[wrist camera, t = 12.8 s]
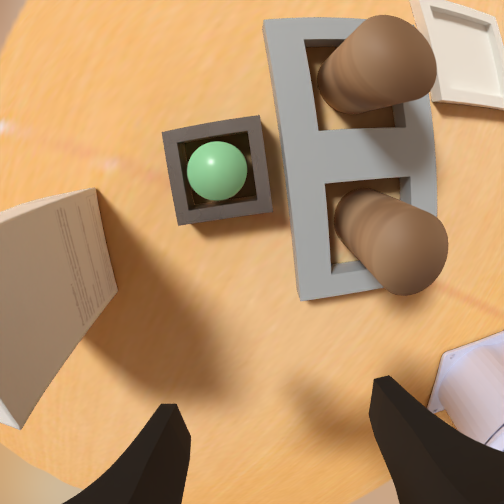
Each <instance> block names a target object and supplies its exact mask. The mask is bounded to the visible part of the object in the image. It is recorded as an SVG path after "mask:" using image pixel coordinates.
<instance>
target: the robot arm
mask: <svg viewBox="0 0 504 504" xmlns="http://www.w3.org/2000/svg"><path fill="white" fill-rule="evenodd" d="M444 409H445V410H446V412H447V413H448V415H449V417H450V418H451V420H452V422H453V423H454V425H455V427H456V428H457V430H456V429H454V428H453V427H451V426H450V425H448V424H447V423H445V422H444V421H443V420H441V419H440V418H438V417H437V416H436V415H434V413H436V412H439V411H442V410H444ZM369 418H370V421H371V425H372V429H373V432H374V436H375V438H376V441H377V443H378V446H379V448H380V451H381V453H382V455H383V458H384V460H385V462H386V465H387V467H388V470H389V472H390V475H391V477H392V479H393V482H394V485H395V488H396V491H397V495H398V499H399V503H400V504H504V331H501V332H499V333H496V334H494V335H491V336H489V337H486V338H483V339H481V340H478V341H475V342H473V343H470V344H467V345H464V346H461V347H458V348H455V349H453V350H449V351H447V352H445V353H444V354H443V355H442V357H441V361H440V365H439V369H438V373H437V376H436V380H435V384H434V387H433V390H432V394H431V397H430V400H429V403H428V406H427V408H426V407H424V406H423V405H422V404H421V403H420V402H418V401H417V400H416V399H415V398H414V397H413V396H412V395H410V394H409V393H408V392H407V391H406V390H405V389H404V388H403V387H402V386H401V385H399V384H398V383H397V382H396V381H395V380H394V379H393V378H392V377H391V376H389V375H388V376H384V377H380V378H376V379H374V382H373V389H372V396H371V403H370V409H369ZM190 447H191V435H190V433H189V431H188V429H187V427H186V424H185V422H184V420H183V418H182V415H181V413H180V411H179V409H178V406H177V404H161V405H160V406H159V407H158V408H157V410H156V411H155V413H154V414H153V415H152V417H151V418H150V419H149V421H148V422H147V424H146V425H145V426H144V428H143V429H142V430H141V432H140V433H139V434H138V436H137V437H136V438H135V439H134V441H133V442H132V443H131V444H130V446H129V447H128V448H127V449H126V450H125V452H124V453H123V454H122V455H121V456H120V457H119V458H118V459H117V461H116V462H115V463H114V464H113V465H112V466H111V467H110V468H109V469H108V470H107V471H106V472H105V473H104V474H102V475H101V476H100V477H99V478H98V479H97V480H96V481H94V482H93V483H92V484H91V485H89V486H88V487H87V488H85V489H84V490H83V491H82V492H80V493H79V494H77V495H76V496H74V497H73V498H71V499H69V500H68V501H66V502H64V503H63V504H181V502H182V497H183V492H184V487H185V482H186V476H187V471H188V466H189V460H190Z"/></svg>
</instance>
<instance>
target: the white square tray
mask: <svg viewBox="0 0 504 504" xmlns="http://www.w3.org/2000/svg"><path fill="white" fill-rule="evenodd" d="M409 2H410V5H411V8H412V12H413V15H414V19H415V22H416V26H417V30H418V31H420V32H421V34H422V35H423V36H424V37H425V38H426V40H427V41H428V43H429V44H430V46H431V48H432V50H433V53H434V56H435V59H436V64H437V76H436V80H435V83H434V86H433V88H432V89H431V90H430V91H431V98H432V102H442V103H453V104H462V105H470V106H478V107H485V108H492V109H498V110H504V46H503V42H502V38H501V35H500V31H499V28H498V25H497V21H496V18H495V17H494V16H491V15H488V14H486V13H483V12H480V11H477V10H475V9H472V8H469V7H466V6H462V5H459V4H456V3H453V2H449V1H446V0H409Z"/></svg>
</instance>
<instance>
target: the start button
mask: <svg viewBox="0 0 504 504" xmlns="http://www.w3.org/2000/svg"><path fill="white" fill-rule="evenodd" d="M187 176H188V180H189V183H190V185H191V187H192V188H193V189H194V191H195V192H196V193H198V194H199V195H200V196H202V197H204V198H206V199H209V200H215V201H219V200H225V199H228V198H230V197H232V196H234V195H235V194H236V193H237V192H239V190H240V189H241V188H242V186H243V185H244V183H245V180H246V176H247V163H246V159H245V157H244V155H243V154H242V152H241V151H240V150H239V149H238V148H237V147H235V146H234V145H231V144H229V143H225V142H220V141H215V142H209V143H206V144H204V145H202V146H200V147H199V148H198V149H197V150H196V151H195V152H194V153H193V154H192V156H191V158H190V160H189V162H188V167H187Z"/></svg>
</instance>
